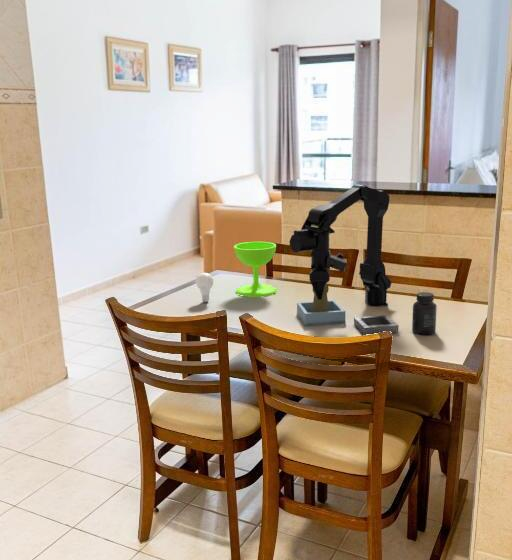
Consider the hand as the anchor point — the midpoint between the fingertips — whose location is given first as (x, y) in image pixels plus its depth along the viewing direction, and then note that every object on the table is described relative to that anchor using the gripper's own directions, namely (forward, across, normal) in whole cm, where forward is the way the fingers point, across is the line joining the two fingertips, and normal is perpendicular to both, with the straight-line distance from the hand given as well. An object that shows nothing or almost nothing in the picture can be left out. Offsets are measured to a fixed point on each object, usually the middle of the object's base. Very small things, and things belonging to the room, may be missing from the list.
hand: (320, 295), depth 199 cm
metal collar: (+8, -10, -17) cm, 21 cm away
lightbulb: (+8, +18, +42) cm, 46 cm away
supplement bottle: (+8, -12, -31) cm, 35 cm away
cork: (+7, 0, 0) cm, 7 cm away
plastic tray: (+8, 0, 0) cm, 8 cm away
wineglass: (+8, +33, +25) cm, 42 cm away
